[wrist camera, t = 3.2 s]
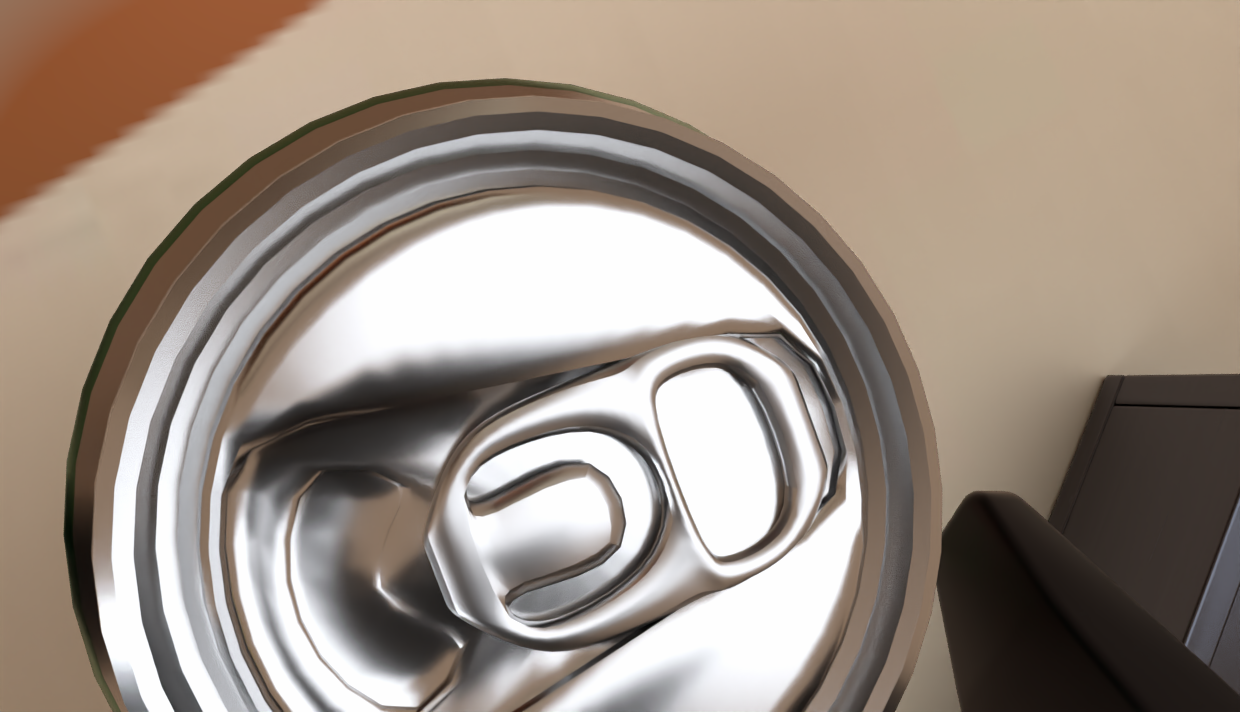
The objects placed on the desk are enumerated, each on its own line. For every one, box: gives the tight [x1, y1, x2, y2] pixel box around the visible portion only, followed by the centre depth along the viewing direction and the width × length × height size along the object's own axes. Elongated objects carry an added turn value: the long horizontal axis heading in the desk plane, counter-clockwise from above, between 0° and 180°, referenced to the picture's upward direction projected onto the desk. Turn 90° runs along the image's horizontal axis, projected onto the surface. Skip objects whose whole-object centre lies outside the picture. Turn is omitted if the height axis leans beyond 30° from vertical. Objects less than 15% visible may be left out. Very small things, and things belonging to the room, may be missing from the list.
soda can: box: [64, 78, 942, 712], centre depth 11 cm, size 5×5×12 cm
